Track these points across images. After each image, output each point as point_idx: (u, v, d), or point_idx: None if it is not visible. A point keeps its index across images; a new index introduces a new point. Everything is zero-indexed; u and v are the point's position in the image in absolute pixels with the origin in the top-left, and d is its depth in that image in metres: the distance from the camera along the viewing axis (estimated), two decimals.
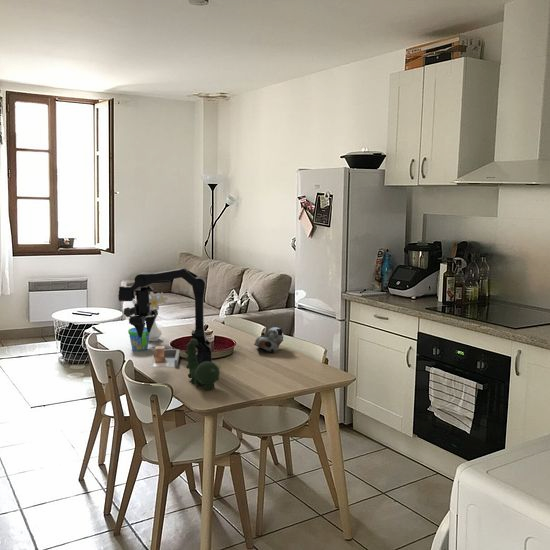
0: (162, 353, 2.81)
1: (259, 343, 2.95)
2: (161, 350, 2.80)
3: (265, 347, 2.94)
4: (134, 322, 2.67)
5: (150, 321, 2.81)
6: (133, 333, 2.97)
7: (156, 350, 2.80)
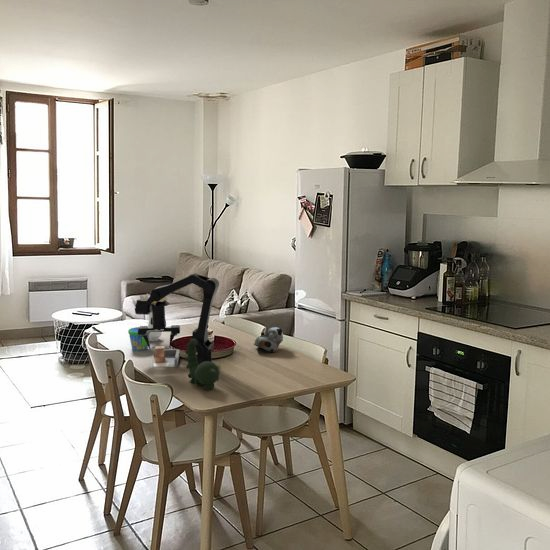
0: (162, 353, 2.81)
1: (259, 343, 2.95)
2: (161, 350, 2.80)
3: (265, 347, 2.95)
4: None
5: (170, 337, 2.82)
6: (133, 333, 2.97)
7: (156, 350, 2.80)
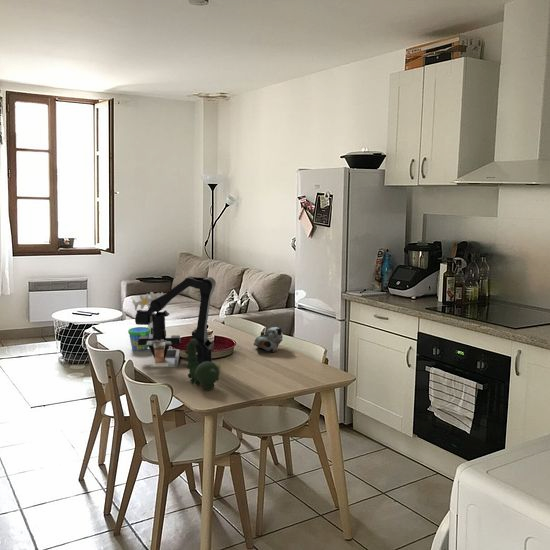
0: (162, 353, 2.81)
1: (258, 343, 2.95)
2: (161, 350, 2.80)
3: (265, 347, 2.95)
4: None
5: None
6: (133, 333, 2.97)
7: (156, 350, 2.80)
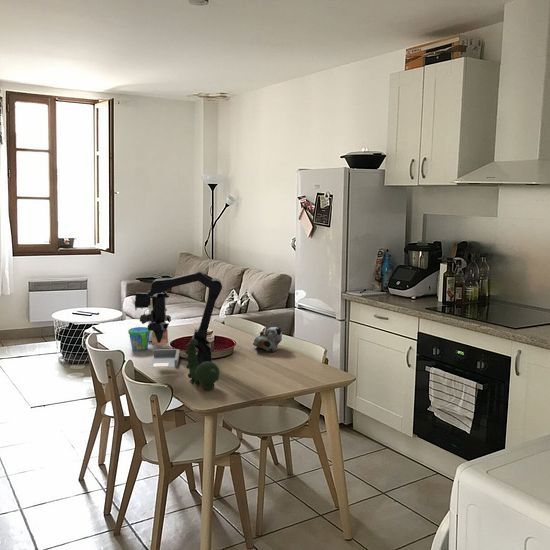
0: (167, 333, 2.78)
1: (258, 343, 2.96)
2: (167, 330, 2.77)
3: (264, 347, 2.95)
4: (153, 329, 2.67)
5: (163, 328, 2.79)
6: (133, 333, 2.97)
7: (165, 332, 2.75)
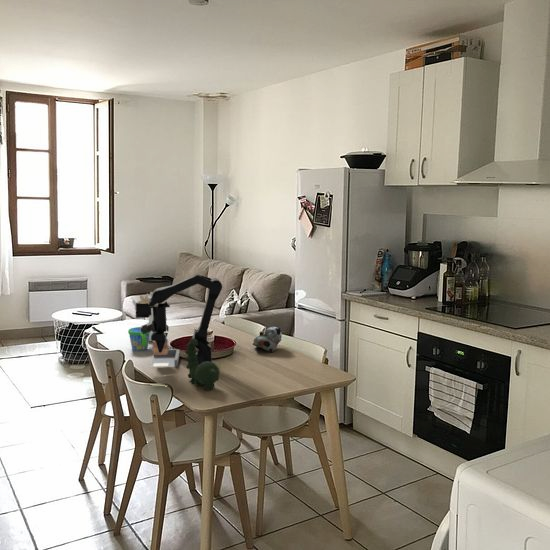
0: (167, 343, 2.78)
1: (258, 343, 2.96)
2: (167, 340, 2.77)
3: (264, 347, 2.95)
4: (157, 339, 2.66)
5: None
6: (133, 333, 2.97)
7: (166, 341, 2.75)
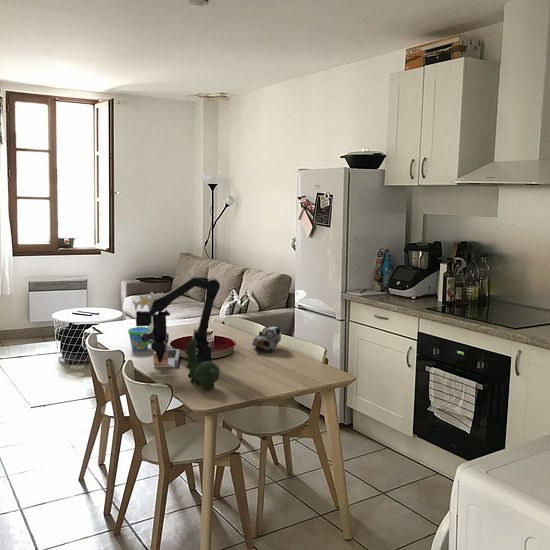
0: (167, 354, 2.79)
1: (257, 342, 2.96)
2: (167, 351, 2.78)
3: (264, 346, 2.96)
4: (157, 347, 2.67)
5: None
6: (133, 333, 2.97)
7: (167, 352, 2.76)
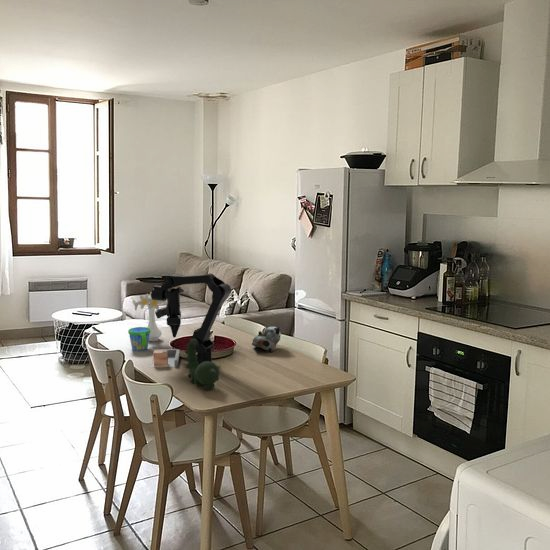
0: (167, 354, 2.79)
1: (257, 342, 2.96)
2: (167, 351, 2.78)
3: (263, 346, 2.96)
4: (173, 322, 2.74)
5: None
6: (133, 333, 2.97)
7: (167, 352, 2.76)
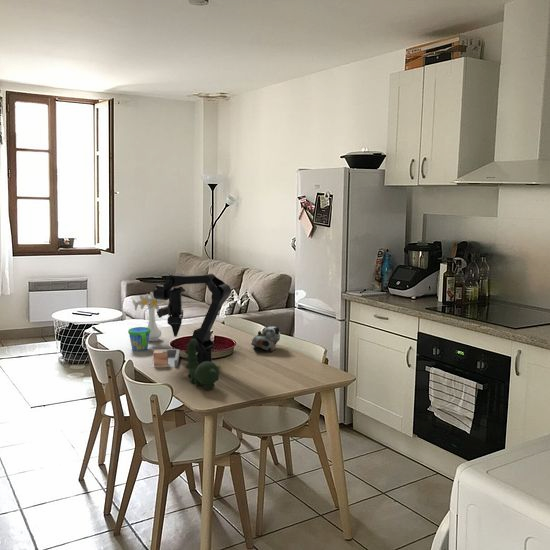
0: (167, 354, 2.79)
1: (257, 342, 2.96)
2: (167, 351, 2.78)
3: (263, 346, 2.96)
4: (173, 322, 2.75)
5: None
6: (133, 333, 2.97)
7: (167, 352, 2.76)
